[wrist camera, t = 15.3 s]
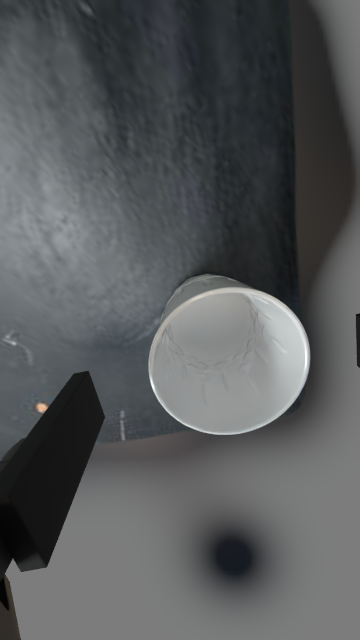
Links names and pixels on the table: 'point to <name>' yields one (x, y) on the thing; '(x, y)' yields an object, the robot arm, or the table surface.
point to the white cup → (227, 356)
